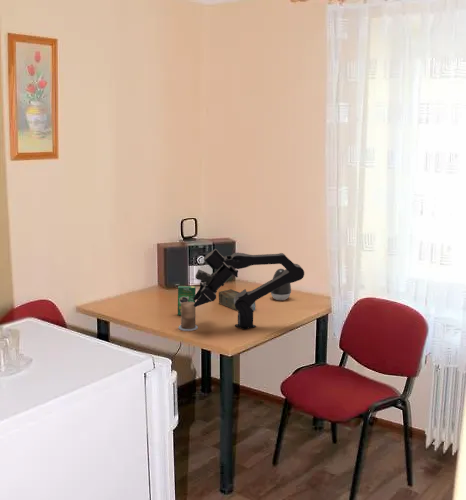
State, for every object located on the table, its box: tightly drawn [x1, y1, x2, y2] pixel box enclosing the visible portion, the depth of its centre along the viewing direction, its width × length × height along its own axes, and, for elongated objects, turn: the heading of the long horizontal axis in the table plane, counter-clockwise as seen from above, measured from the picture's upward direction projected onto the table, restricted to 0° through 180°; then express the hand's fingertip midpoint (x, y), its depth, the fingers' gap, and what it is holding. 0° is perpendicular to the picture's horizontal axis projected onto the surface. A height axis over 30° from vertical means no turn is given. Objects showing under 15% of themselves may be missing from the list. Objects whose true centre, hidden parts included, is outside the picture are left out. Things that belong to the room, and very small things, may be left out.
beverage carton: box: [218, 289, 256, 312], centre depth 291 cm, size 8×19×7 cm, turn 36°
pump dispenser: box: [270, 268, 292, 301], centre depth 303 cm, size 10×10×15 cm
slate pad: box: [178, 324, 199, 332], centre depth 261 cm, size 8×8×1 cm
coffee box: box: [177, 285, 197, 316], centre depth 277 cm, size 8×3×13 cm, turn 93°
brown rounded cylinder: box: [180, 302, 197, 329], centre depth 260 cm, size 6×6×10 cm
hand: (193, 302), depth 259 cm, fingers open, 9 cm apart
